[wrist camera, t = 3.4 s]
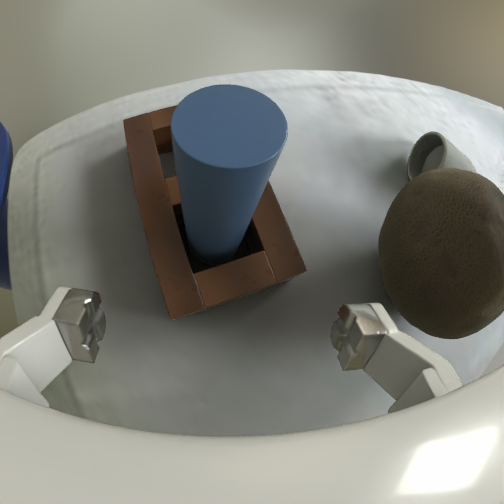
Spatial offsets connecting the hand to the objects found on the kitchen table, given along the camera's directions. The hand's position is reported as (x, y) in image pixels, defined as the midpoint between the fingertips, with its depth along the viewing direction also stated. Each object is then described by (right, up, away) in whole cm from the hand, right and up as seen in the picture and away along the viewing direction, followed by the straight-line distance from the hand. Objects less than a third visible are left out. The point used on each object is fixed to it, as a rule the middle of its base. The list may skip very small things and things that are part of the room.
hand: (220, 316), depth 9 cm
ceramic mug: (+25, +13, +23) cm, 36 cm away
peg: (-2, +3, +15) cm, 16 cm away
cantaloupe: (+17, 0, +18) cm, 24 cm away
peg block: (-4, +6, +16) cm, 17 cm away
